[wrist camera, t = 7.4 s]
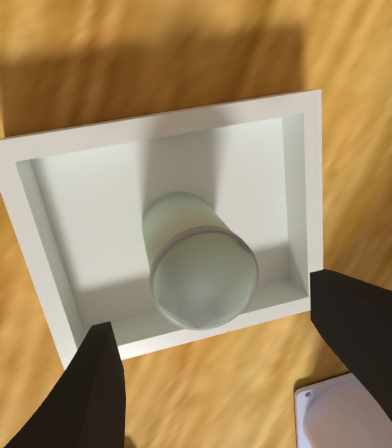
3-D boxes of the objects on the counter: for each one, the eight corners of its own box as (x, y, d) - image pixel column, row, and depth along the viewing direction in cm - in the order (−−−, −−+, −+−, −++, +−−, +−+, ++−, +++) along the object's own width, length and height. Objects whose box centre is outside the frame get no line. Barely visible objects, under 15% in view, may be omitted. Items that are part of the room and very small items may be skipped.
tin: (213, 185, 20) (258, 222, 14) (217, 255, 22) (259, 319, 15) (135, 195, 19) (143, 240, 13) (145, 267, 21) (157, 339, 14)
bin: (293, 91, 20) (321, 89, 17) (300, 283, 24) (323, 306, 22) (4, 137, 17) (-17, 143, 15) (72, 340, 22) (66, 374, 19)
